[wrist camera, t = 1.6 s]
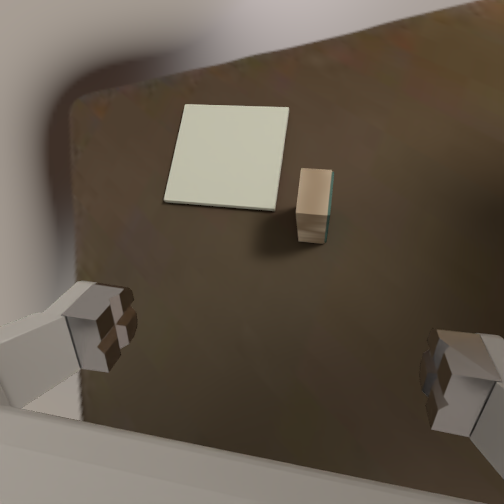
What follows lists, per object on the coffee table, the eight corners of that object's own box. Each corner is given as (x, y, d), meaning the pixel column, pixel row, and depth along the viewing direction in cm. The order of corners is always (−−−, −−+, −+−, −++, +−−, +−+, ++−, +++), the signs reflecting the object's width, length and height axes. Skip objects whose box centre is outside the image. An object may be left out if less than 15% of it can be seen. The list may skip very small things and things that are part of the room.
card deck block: (329, 206, 38) (334, 170, 30) (325, 243, 37) (329, 215, 29) (302, 204, 38) (301, 168, 31) (298, 241, 37) (295, 212, 30)
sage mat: (289, 110, 41) (288, 107, 41) (275, 211, 38) (274, 208, 38) (186, 107, 44) (185, 104, 43) (165, 202, 40) (163, 199, 40)
